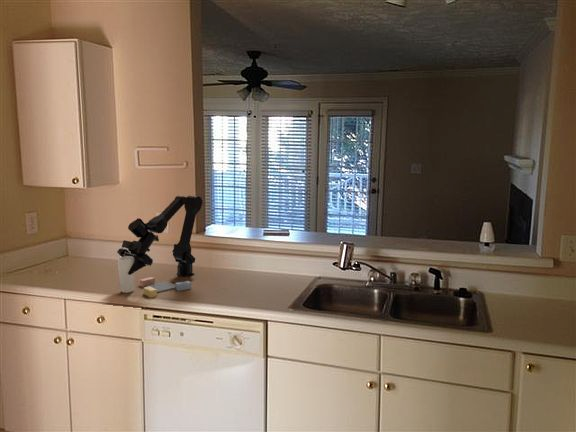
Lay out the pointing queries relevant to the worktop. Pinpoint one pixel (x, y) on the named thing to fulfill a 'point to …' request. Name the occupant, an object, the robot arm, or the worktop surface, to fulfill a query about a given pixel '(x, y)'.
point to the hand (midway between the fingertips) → (123, 272)
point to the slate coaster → (162, 286)
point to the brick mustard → (150, 291)
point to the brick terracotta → (147, 281)
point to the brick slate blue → (183, 285)
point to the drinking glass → (126, 273)
